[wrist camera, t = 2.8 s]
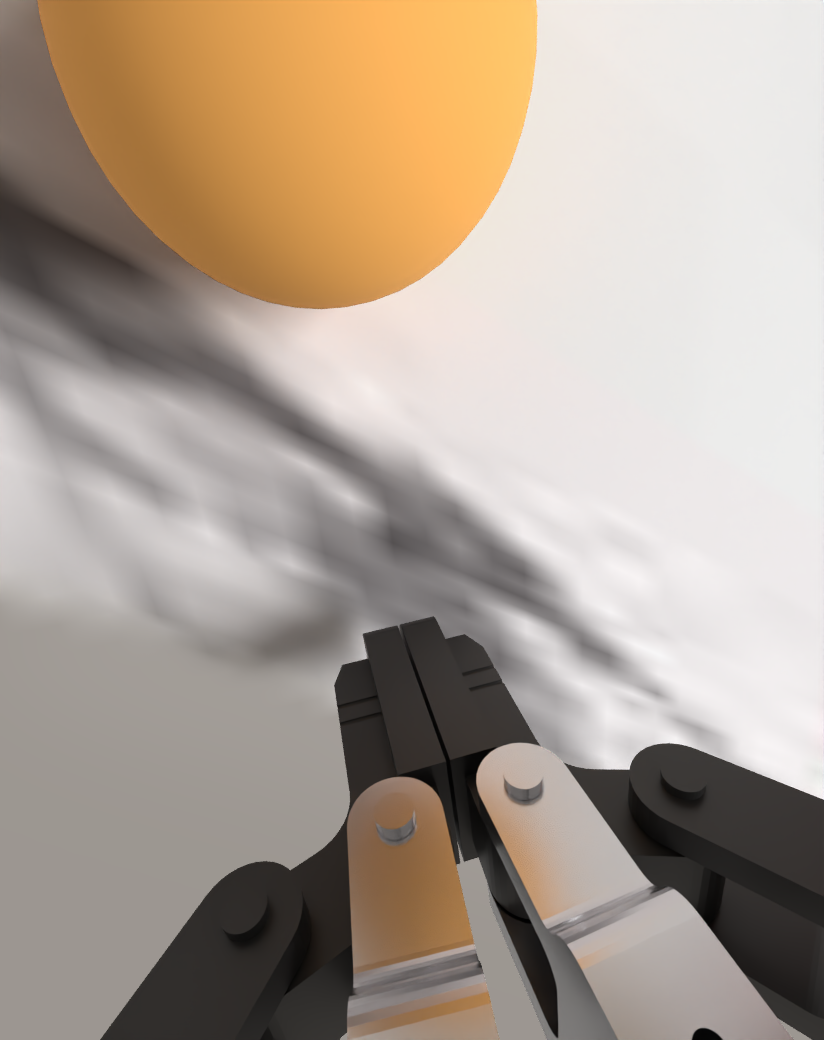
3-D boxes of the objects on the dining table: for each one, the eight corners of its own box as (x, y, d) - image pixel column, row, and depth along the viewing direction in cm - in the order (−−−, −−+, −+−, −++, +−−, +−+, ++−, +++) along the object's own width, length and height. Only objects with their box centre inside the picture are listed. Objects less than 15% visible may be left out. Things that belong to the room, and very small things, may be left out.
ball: (56, -95, 8) (-363, -813, 3) (438, -108, 8) (670, -671, 3) (178, 323, 10) (81, 362, 5) (467, 280, 11) (632, 278, 6)
